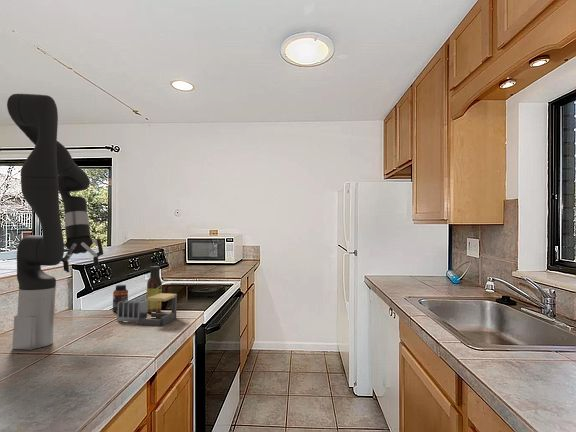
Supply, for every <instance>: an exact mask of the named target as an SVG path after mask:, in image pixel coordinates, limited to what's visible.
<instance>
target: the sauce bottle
mask: <svg viewBox="0 0 576 432" xmlns="http://www.w3.org/2000/svg"><path fill="white" fill-rule="evenodd" d="M160 270H161V266H159V265H156V266H155V265H154V266H150V267H149V272H150V273H149V276H150V277H149V278H148V280H147V282H146V296H145V297H146V300H145V301H147V298H148V297H151V296H154V295H157V294H160V293H163V292H162V291H163V283H162V280H161V276H160ZM162 302H163V301H148V306H147V312H157V313H161V311H162Z"/></svg>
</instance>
